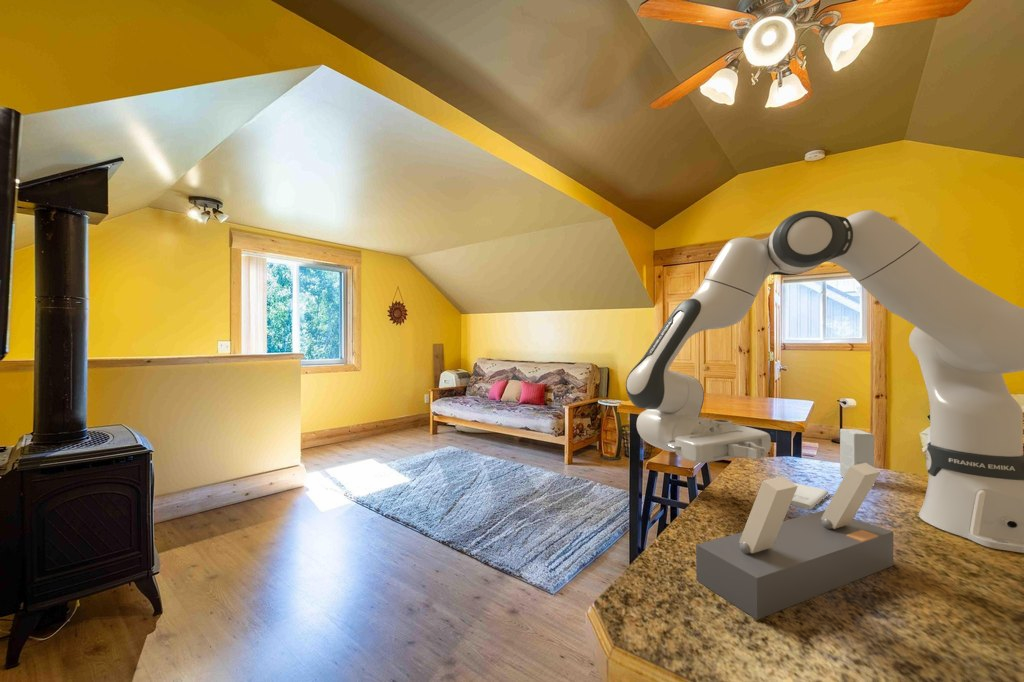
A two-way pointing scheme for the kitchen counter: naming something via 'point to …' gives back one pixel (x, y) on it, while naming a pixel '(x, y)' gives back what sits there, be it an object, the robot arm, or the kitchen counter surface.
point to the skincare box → (855, 449)
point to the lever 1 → (767, 514)
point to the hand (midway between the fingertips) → (761, 454)
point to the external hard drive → (807, 496)
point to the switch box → (793, 563)
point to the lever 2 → (849, 495)
